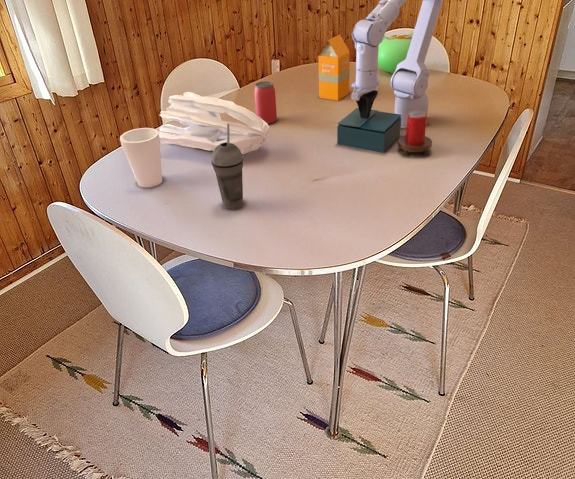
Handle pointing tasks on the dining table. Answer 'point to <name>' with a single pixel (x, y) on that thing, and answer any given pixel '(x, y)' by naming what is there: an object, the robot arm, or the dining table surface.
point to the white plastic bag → (210, 123)
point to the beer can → (265, 101)
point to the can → (416, 127)
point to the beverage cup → (229, 173)
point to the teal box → (371, 133)
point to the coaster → (414, 148)
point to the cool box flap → (356, 118)
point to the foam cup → (143, 155)
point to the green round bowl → (393, 51)
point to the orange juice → (334, 69)
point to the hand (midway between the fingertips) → (364, 117)
